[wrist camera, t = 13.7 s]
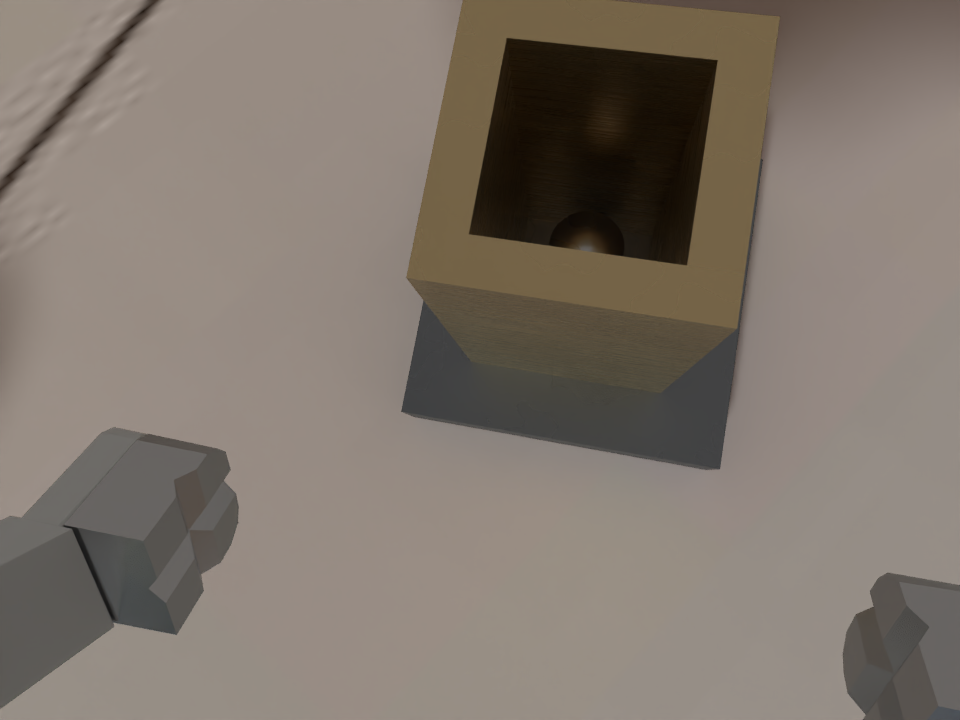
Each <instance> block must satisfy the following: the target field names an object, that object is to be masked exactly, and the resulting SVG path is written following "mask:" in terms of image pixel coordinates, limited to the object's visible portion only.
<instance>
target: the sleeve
mask: <svg viewBox="0 0 960 720" xmlns="http://www.w3.org/2000/svg"><path fill="white" fill-rule="evenodd" d="M779 21H780V17H779V16H769V15H758V14H748V13H738V12H727V11H717V10H707V9H696V8H686V7H676V6H665V5H655V4H645V3H634V2H624V1H614V0H463V3H462V7H461V12H460V17H459V22H458V27H457V32H456V37H455V42H454V47H453V52H452V56H451V61H450V66H449V71H448V76H447V81H446V86H445V91H444V96H443V101H442V105H441V110H440V115H439V120H438V125H437V130H436V135H435V140H434V145H433V150H432V154H431V159H430V164H429V169H428V174H427V179H426V184H425V189H424V194H423V199H422V203H421V208H420V213H419V218H418V223H417V228H416V233H415V238H414V243H413V248H412V252H411V257H410V262H409V267H408V272H407V277H406V278H407V279H408V281H409V282H410V283H411V284H412V286H413V287H414V288H415V290H416V291H417V292H418V294H419V295H420V296H421V297H422V299H423V300H424V301H425V303H426V304H427V305H428V306H429V308H430V309H431V310H432V312H433V313H434V314H435V316H436V317H437V318H438V319H439V321H440V322H441V323H442V325H443V326H444V327H445V328H446V330H447V331H448V332H449V334H450V335H451V336H452V337H453V339H454V340H455V341H456V343H457V344H458V345H459V347H460V348H461V349H462V350H463V352H464V353H465V354H466V356H467V357H468V358H469V359H470V361H471V362H476V363H482V364H488V365H494V366H500V367H506V368H512V369H518V370H524V371H530V372H536V373H542V374H548V375H554V376H560V377H566V378H572V379H578V380H584V381H590V382H595V383H601V384H607V385H613V386H619V387H625V388H631V389H637V390H643V391H649V392H655V393H661V392H662V391H664V390H665V389H666V388H667V387H668V386H669V385H671V384H672V383H673V382H674V381H675V380H677V379H678V378H679V377H680V376H681V375H683V374H684V373H685V372H686V371H687V370H689V369H690V368H691V367H692V366H693V365H694V364H696V363H697V362H698V361H699V360H700V359H702V358H703V357H704V356H705V355H706V354H708V353H709V352H710V351H711V350H712V349H714V348H715V347H716V346H717V345H718V344H719V343H721V342H722V341H723V340H724V339H725V338H727V337H728V336H729V335H730V334H731V333H733V332H734V331H735V330H736V329H737V326H738V319H739V311H740V304H741V297H742V290H743V282H744V275H745V268H746V261H747V253H748V246H749V239H750V232H751V224H752V217H753V210H754V202H755V195H756V188H757V181H758V173H759V166H760V159H761V152H762V144H763V137H764V130H765V123H766V115H767V108H768V101H769V94H770V86H771V79H772V72H773V65H774V57H775V50H776V43H777V36H778V28H779ZM581 211H593V212H598V213H601V214H603V215H605V216H607V217H609V218H610V219H611V220H613V221H614V222H615V223H616V225H617V226H618V227H619V229H620V231H623V232H630V233H638V234H645V235H652V237H651V243H650V249H649V256H648V260H644V259H637V258H630V257H624V256H617V255H610V254H603V253H596V252H589V251H582V250H575V249H568V248H561V247H554V246H547V245H540V244H533V243H526V242H525V236H526V231H527V226H528V220H529V218H530V219H537V220H544V221H551V222H560V221H562V220H563V219H564V218H566V217H567V216H569V215H571V214H573V213H577V212H581Z"/></svg>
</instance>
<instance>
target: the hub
mask: <svg viewBox="0 0 960 720" xmlns="http://www.w3.org/2000/svg"><path fill="white" fill-rule="evenodd" d="M762 161H763V160H762V159H760V166H759V173H758V181H757V188H756V195H755V202H754V210H753V217H752V224H751V232H750V239H749V246H748V253H747V261H746V268H745V275H744V282H743V290H742V297H741V304H740V311H739V319H738V326H737V329H736V330H735V331H734V332H733V333H731V334H730V335H729V336H728V337H727V338H725V339H724V340H723V341H722V342H721V343H719V344H718V345H717V346H716V347H715V348H714V349H712V350H711V351H710V352H709V353H708V354H706V355H705V356H704V357H703V358H702V359H700V360H699V361H698V362H697V363H696V364H694V365H693V366H692V367H691V368H690V369H689V370H687V371H686V372H685V373H684V374H683V375H681V376H680V377H679V378H678V379H677V380H675V381H674V382H673V383H672V384H671V385H669V386H668V387H667V388H666V389H665V390H664V391H662V392H661V393H655V392H649V391H643V390H637V389H631V388H625V387H619V386H613V385H607V384H601V383H595V382H590V381H584V380H578V379H572V378H566V377H560V376H554V375H548V374H542V373H536V372H530V371H524V370H518V369H512V368H506V367H500V366H494V365H488V364H482V363H476V362H471V361H470V359H469V358H468V357H467V356H466V354H465V353H464V352H463V350H462V349H461V348H460V347H459V345H458V344H457V343H456V341H455V340H454V339H453V337H452V336H451V335H450V334H449V332H448V331H447V330H446V328H445V327H444V326H443V325H442V323H441V322H440V321H439V319H438V318H437V317H436V316H435V314H434V313H433V312H432V310H431V309H430V308H429V306H428V305H427V304H426V303H425V301H423V306H422V311H421V316H420V321H419V326H418V331H417V336H416V341H415V346H414V351H413V356H412V361H411V366H410V371H409V376H408V381H407V386H406V391H405V396H404V401H403V406H402V411H401V412H403V413H406V414H408V415H411V416H413V417H418V418H424V419H429V420H435V421H440V422H446V423H451V424H457V425H462V426H468V427H473V428H479V429H484V430H490V431H495V432H501V433H506V434H512V435H517V436H523V437H528V438H534V439H539V440H545V441H550V442H556V443H561V444H567V445H572V446H578V447H583V448H589V449H595V450H600V451H606V452H611V453H617V454H622V455H628V456H633V457H639V458H644V459H650V460H655V461H661V462H666V463H672V464H677V465H683V466H688V467H694V468H699V469H705V470H714V469H720V464H721V457H722V450H723V443H724V436H725V428H726V421H727V414H728V407H729V399H730V392H731V385H732V378H733V371H734V363H735V356H736V349H737V342H738V334H739V327H740V320H741V313H742V306H743V298H744V291H745V284H746V277H747V269H748V262H749V255H750V248H751V241H752V233H753V226H754V219H755V212H756V204H757V197H758V190H759V183H760V176H761V168H762ZM651 237H652V235H645V234H638V233H630V232H623V231H620V229H619V227H618V226H617V225H616V223H615V222H614V221H613V220H611V219H610V218H609V217H607V216H605V215H603V214H601V213H598V212H593V211H581V212H577V213H573V214H571V215H569V216H567V217H566V218H564V219H563V220H562V221H560V222H551V221H544V220H537V219H530V218H529V220H528V226H527V231H526V236H525V242H526V243H533V244H540V245H547V246H554V247H561V248H568V249H575V250H582V251H589V252H596V253H603V254H610V255H617V256H624V257H630V258H637V259H644V260H648V256H649V249H650V243H651Z"/></svg>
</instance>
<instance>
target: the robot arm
mask: <svg viewBox="0 0 960 720" xmlns="http://www.w3.org/2000/svg"><path fill="white" fill-rule="evenodd" d="M230 470H231V469H230V466H229V462H228V458H227V455H226V452H225V451H222V450H220V449H217V448H212V447H207V446H203V445H198V444H193V443H189V442H184V441H179V440H175V439H170V438H165V437H161V436H156V435H152V434H145V433H140V432H135V431H130V430H125V429H121V428H116V427H113V428H111V429H109V430H107V431H104V432H102V433H101V434H100V435H99V436H98V437H97V438H96V439H95V440H94V441H93V442H92V443H91V444H90V445H89V446H88V447H87V448H86V449H85V451H84V452H83V453H82V454H81V455H80V456H79V457H78V458H77V459H76V460H75V461H74V462H73V463H72V464H71V465H70V467H69V468H68V469H67V470H66V471H65V472H64V473H63V474H62V475H61V476H60V477H59V478H58V479H57V480H56V481H55V483H54V484H53V485H52V486H51V487H50V488H49V489H48V490H47V491H46V492H45V493H44V494H43V495H42V496H41V497H40V499H39V500H38V501H37V502H36V503H35V504H34V505H33V506H32V507H31V508H30V509H29V510H28V511H27V512H26V513H25V515H24V516H23V517H22V518H20V517H14V516H9V517H7V518H5V519H3V520H0V709H1V708H2V707H4V706H5V705H6V704H8V703H9V702H10V701H12V700H13V699H15V698H16V697H17V696H19V695H20V694H22V693H23V692H24V691H26V690H27V689H29V688H30V687H31V686H33V685H34V684H35V683H37V682H38V681H40V680H41V679H42V678H44V677H45V676H47V675H48V674H49V673H51V672H52V671H53V670H55V669H56V668H58V667H59V666H60V665H62V664H63V663H65V662H66V661H67V660H69V659H70V658H71V657H73V656H74V655H76V654H77V653H78V652H80V651H81V650H83V649H84V648H85V647H87V646H88V645H90V644H91V643H92V642H94V641H95V640H96V639H98V638H99V637H101V636H102V635H103V634H105V633H106V632H108V631H109V630H110V629H112V628H113V627H114V624H113V623H118V624H124V625H129V626H134V627H139V628H144V629H149V630H154V631H160V632H165V633H170V634H175V635H177V634H178V632H179V630H180V629H181V627H182V625H183V624H184V622H185V621H186V619H187V617H188V616H189V614H190V612H191V611H192V609H193V607H194V606H195V604H196V603H197V601H198V599H199V598H200V596H201V594H202V593H203V591H204V589H203V583H202V576H201V574H202V573H204V572H206V571H207V570H209V569H211V568H212V567H214V566H216V565H217V564H219V563H221V561H222V559H223V558H224V556H225V554H226V552H227V551H228V549H229V547H230V545H231V543H232V540H233V537H234V534H235V530H236V527H237V524H238V509H239V506H238V501H237V496H236V493H235V492H234V491H233V490H232V489H231V488H230V487H229V486H228V485H227V484H226V483H225V482H224V479H225V478H226V476H227V475H228V473H229V472H230ZM870 594H871V598H872V602H873V606H874V607H872V608H870V609H867V610H865V611H863V612H860V613H858V614H856V615H855V617H854V619H853V621H852V623H851V624H850V626H849V628H848V630H847V632H846V638H845V644H844V649H843V669H844V677H845V682H846V687H847V692H848V694H849V695H850V697H851V698H852V699H853V700H854V701H855V703H856V704H857V705H858V706H859V707H860V709H861V710H862V711H863V712H864V713H865V717H864V719H863V720H960V585H956V584H950V583H944V582H939V581H933V580H927V579H922V578H916V577H910V576H904V575H899V574H893V573H886V574H884V575H883V576H881V577H879V578H878V579H877V581H876V582H875V584H874V586H873V587H872V589H871V590H870Z"/></svg>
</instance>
